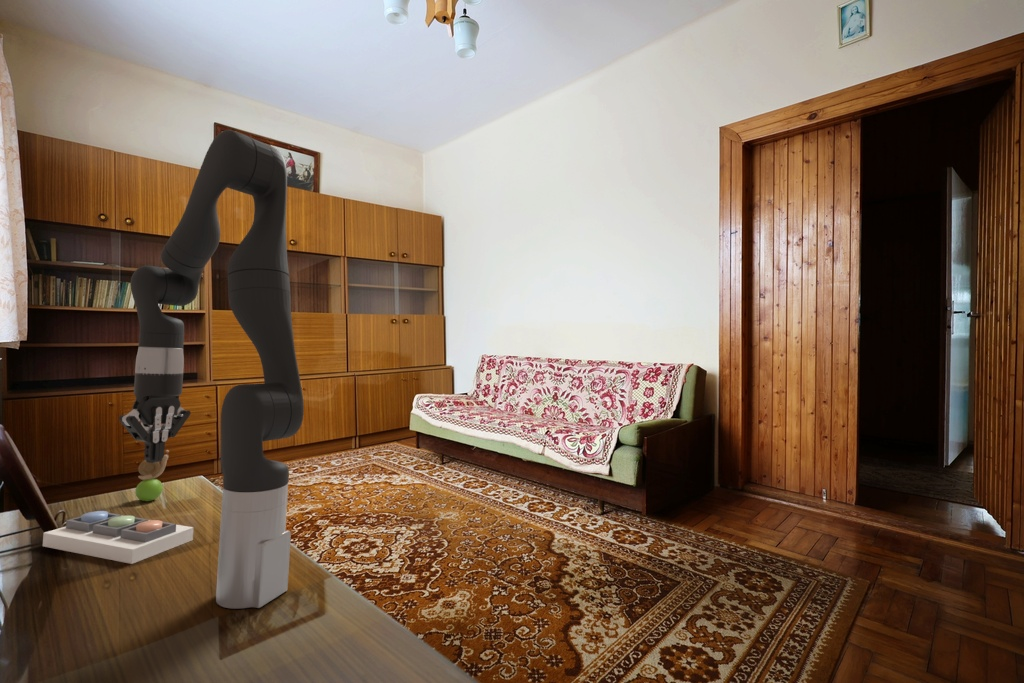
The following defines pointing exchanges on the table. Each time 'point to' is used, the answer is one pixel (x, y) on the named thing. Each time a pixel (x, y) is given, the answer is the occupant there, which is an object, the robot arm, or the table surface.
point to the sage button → (121, 521)
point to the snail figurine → (150, 479)
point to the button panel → (116, 539)
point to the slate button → (94, 516)
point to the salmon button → (149, 526)
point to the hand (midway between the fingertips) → (154, 461)
